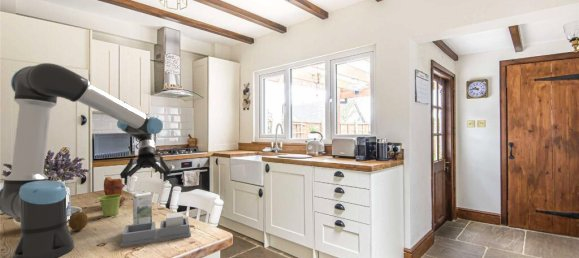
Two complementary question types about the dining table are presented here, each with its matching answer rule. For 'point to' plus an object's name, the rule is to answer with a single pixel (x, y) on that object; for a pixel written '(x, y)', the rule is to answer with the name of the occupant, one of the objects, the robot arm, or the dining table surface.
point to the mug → (114, 188)
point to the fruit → (78, 221)
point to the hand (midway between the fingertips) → (145, 188)
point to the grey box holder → (156, 231)
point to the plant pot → (110, 204)
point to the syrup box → (142, 208)
